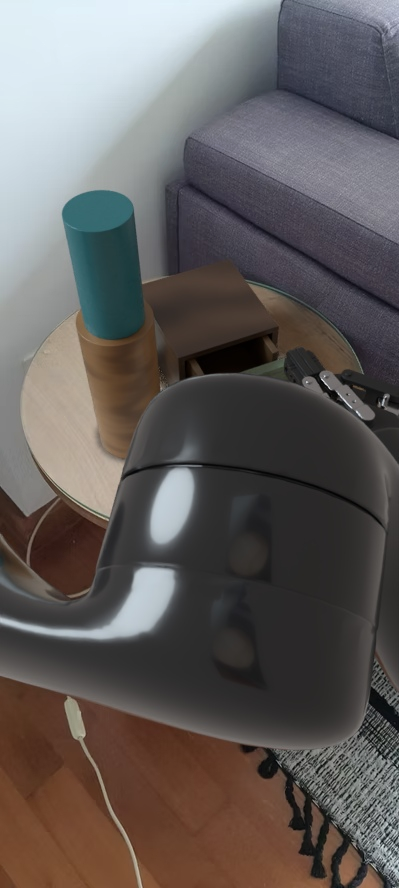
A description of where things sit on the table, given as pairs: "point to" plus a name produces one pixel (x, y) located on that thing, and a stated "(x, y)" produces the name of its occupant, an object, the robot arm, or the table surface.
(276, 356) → the drawer
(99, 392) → the stand
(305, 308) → the table surface
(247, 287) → the cabinet
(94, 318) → the cylinder
